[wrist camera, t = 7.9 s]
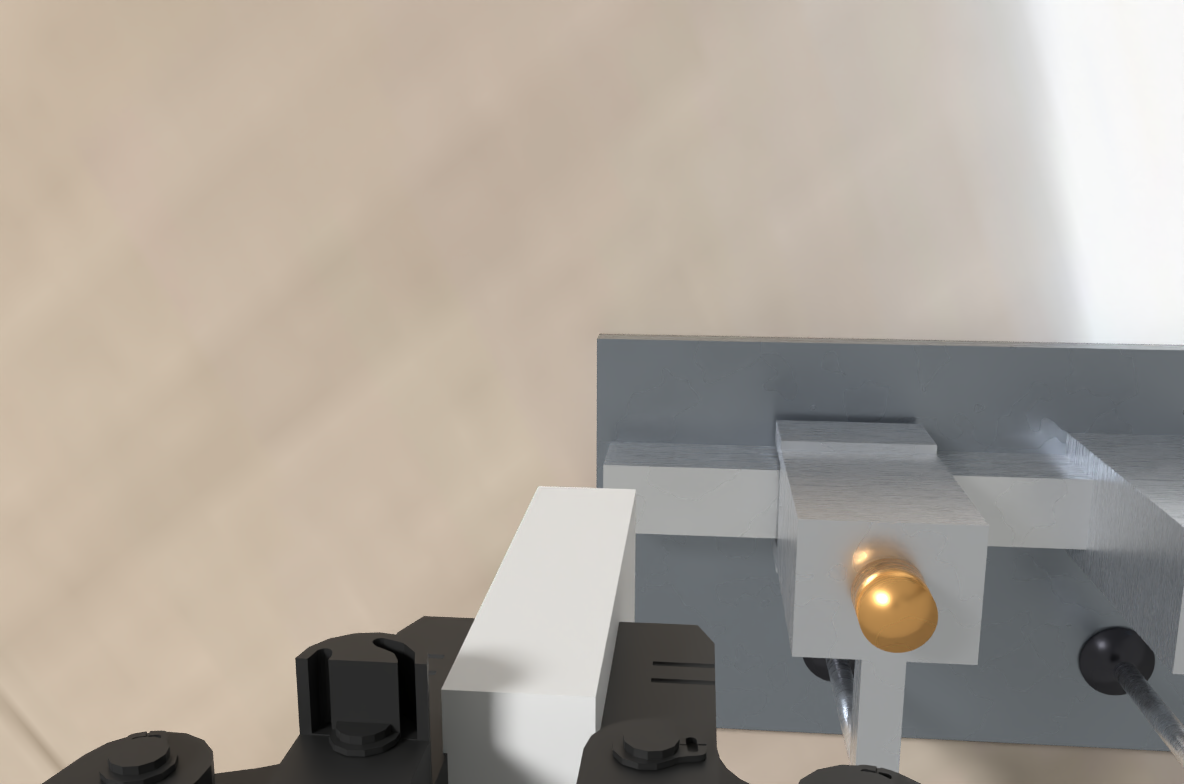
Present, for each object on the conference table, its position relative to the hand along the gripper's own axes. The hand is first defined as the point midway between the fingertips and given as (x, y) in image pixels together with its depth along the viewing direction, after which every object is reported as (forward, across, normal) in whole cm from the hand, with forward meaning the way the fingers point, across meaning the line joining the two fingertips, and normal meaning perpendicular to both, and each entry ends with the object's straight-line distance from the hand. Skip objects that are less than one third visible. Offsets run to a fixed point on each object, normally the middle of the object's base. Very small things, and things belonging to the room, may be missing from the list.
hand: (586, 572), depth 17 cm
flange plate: (+24, +9, -8) cm, 27 cm away
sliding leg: (+23, +7, -8) cm, 25 cm away
